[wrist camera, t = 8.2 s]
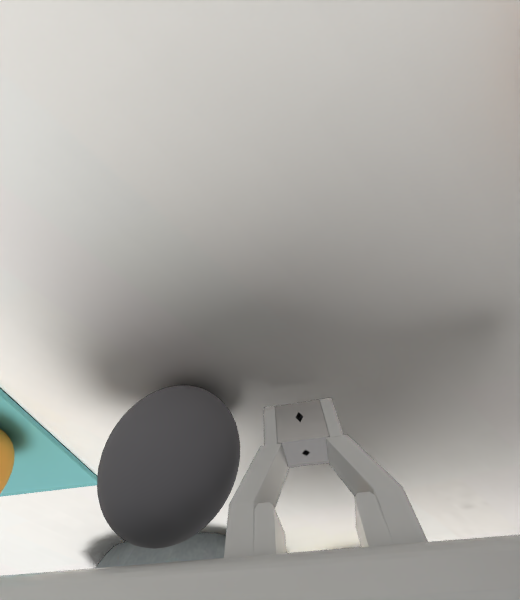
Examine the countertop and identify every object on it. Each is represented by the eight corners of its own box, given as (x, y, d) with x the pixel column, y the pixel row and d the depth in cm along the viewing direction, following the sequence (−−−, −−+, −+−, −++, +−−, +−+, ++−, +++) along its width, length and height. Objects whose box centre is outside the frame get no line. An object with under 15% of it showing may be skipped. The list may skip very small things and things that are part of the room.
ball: (54, 510, 5) (118, 361, 10) (77, 603, 7) (121, 442, 12) (268, 471, 7) (237, 359, 12) (239, 555, 9) (222, 431, 14)
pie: (319, 575, 28) (330, 648, 24) (173, 595, 33) (160, 660, 28) (235, 502, 19) (228, 603, 14) (46, 545, 23) (-4, 631, 19)
